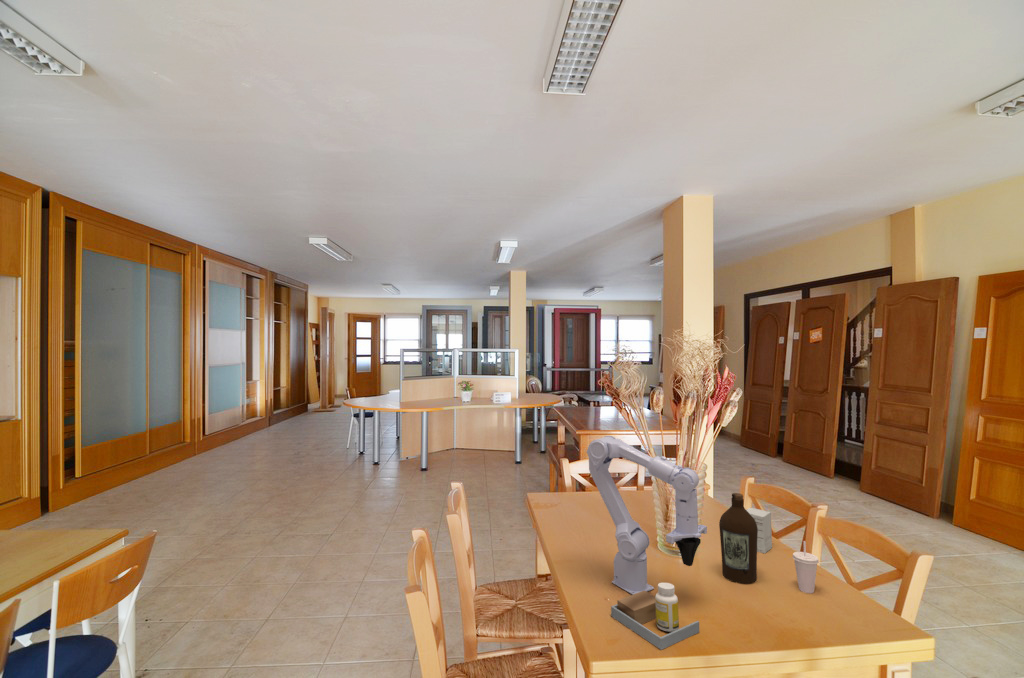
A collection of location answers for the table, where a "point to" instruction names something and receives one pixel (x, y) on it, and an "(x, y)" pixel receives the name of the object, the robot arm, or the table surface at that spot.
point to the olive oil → (738, 543)
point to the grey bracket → (651, 636)
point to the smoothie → (805, 570)
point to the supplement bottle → (666, 608)
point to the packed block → (638, 606)
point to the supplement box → (762, 529)
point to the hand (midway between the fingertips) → (687, 564)
